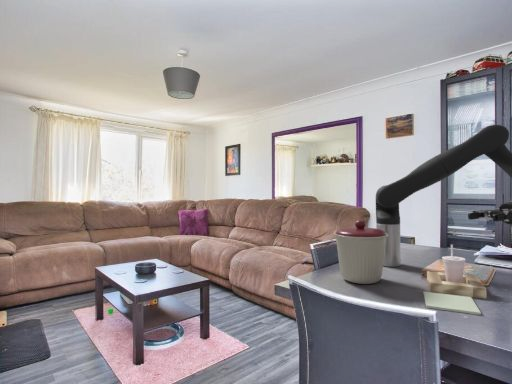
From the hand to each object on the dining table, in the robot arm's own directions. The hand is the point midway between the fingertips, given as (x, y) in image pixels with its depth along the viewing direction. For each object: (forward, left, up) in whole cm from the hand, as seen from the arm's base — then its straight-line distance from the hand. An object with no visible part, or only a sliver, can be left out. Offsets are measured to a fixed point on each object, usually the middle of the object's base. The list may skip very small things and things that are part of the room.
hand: (480, 217), depth 99 cm
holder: (-9, -7, -22) cm, 25 cm away
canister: (-37, -9, -22) cm, 44 cm away
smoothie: (-9, -7, -22) cm, 25 cm away
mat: (-12, -22, -22) cm, 34 cm away
